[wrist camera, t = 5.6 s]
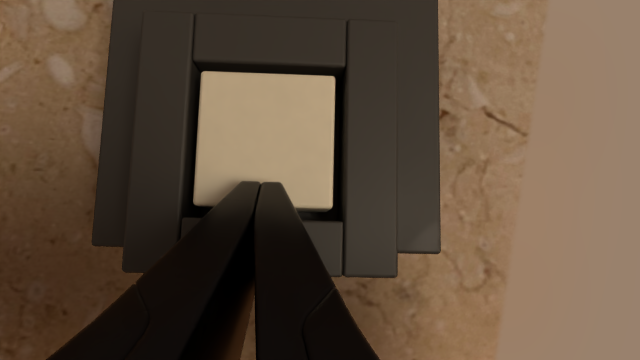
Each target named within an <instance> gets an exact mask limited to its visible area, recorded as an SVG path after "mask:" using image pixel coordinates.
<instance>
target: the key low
mask: <svg viewBox="0 0 640 360" xmlns="http://www.w3.org/2000/svg"><path fill="white" fill-rule="evenodd" d="M334 120H335V78H334V77H333V76H319V75H293V74H267V73H241V72H215V71H203V72H202V73H201V81H200V98H199V114H198V130H197V146H196V163H195V179H194V195H193V203H194V205H197V206H201V207H205V208H209V209H212V208H213V207H214V206H216V205H217V204H218V203H219V202H220V201H221V200H222V199H223V198H224V197H225V196H226V195H227V194H228V193H229V192H230V191H231V190H232V189H233V188H234V187H235V186H236V185H238V184H239V183H240V182H241V181H259V182H260V183H261V184H262V183H263V182H281V183H282V184H283V186H284V188H285V190H286V192H287V194H288V196H289V198H290V200H291V202H292V203H293V205H294V207H295V209H296V211H297V212H327V211H328V210H330V209H331V208H332V206H333V168H334Z"/></svg>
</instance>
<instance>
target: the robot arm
mask: <svg viewBox="0 0 640 360" xmlns="http://www.w3.org/2000/svg"><path fill="white" fill-rule="evenodd" d="M254 295H255V332H256V360H380V359H379V357H378V356H377V355H376V353H375V352H374V350H373V349H372V347H371V346H370V344H369V343H368V341H367V340H366V338H365V337H364V335H363V334H362V332H361V331H360V329H359V328H358V326H357V324H356V323H355V321H354V319H353V317H352V316H351V314H350V312H349V310H348V309H347V307H346V305H345V303H344V301H343V299H342V298H341V296H340V294H339V292H338V290H337V289H336V288H335V285H334V283H333V281H332V279H331V277H330V275H329V273H328V271H327V269H326V267H325V265H324V263H323V261H322V259H321V257H320V256H319V254H318V252H317V250H316V248H315V246H314V244H313V242H312V240H311V238H310V236H309V234H308V232H307V230H306V229H305V227H304V225H303V223H302V221H301V219H300V217H299V215H298V213H297V211H296V209H295V207H294V205H293V203H292V202H291V200H290V198H289V196H288V194H287V192H286V190H285V188H284V186H283V184H282V183H281V182H263V183H262V184H261V183H260V182H259V181H241V182H240V183H239V184H238V185H236V186H235V187H234V188H233V189H232V190H231V191H230V192H229V193H228V194H227V195H226V196H225V197H224V198H223V199H222V200H221V201H220V202H219V203H218V204H217V205H216V206H214V207H213V208H212V209H211V210H210V211H209V212H208V213H207V214H206V215H205V216H204V217H203V218H202V219H201V220H200V221H199V222H198V223H197V224H196V225H195V226H194V227H193V228H191V229H190V230H189V231H188V232H187V233H186V234H185V235H184V236H183V237H182V238H181V239H180V240H179V241H178V242H177V243H176V244H175V245H174V246H173V247H172V248H171V249H169V250H168V251H167V252H166V253H165V254H164V255H163V256H162V257H161V258H160V259H159V260H158V261H157V262H156V263H155V264H154V265H153V266H152V267H151V268H150V269H149V270H148V271H146V272H145V273H144V274H143V275H142V276H141V277H140V278H139V279H138V280H137V281H136V285H135V284H133V285H132V286H131V287H129V288H128V289H127V290H126V291H125V292H124V293H123V294H122V295H121V296H120V297H119V298H118V299H117V300H116V301H115V302H114V303H112V304H111V305H110V306H109V307H108V308H107V309H106V310H105V311H104V312H103V313H101V314H100V315H99V316H98V317H97V318H96V319H95V320H94V321H93V322H91V323H90V324H89V325H88V326H87V327H85V328H84V329H83V330H82V331H80V332H79V333H78V334H77V335H76V336H74V337H73V338H72V339H71V340H70V341H68V342H67V343H66V344H65V345H64V346H62V347H61V348H60V349H59V350H57V351H56V352H55V353H54V354H52V355H51V356H50V357H49V358H47V359H46V360H240V358H241V353H242V349H243V344H244V340H245V335H246V331H247V327H248V322H249V318H250V313H251V309H252V304H253V300H254Z"/></svg>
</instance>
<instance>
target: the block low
mask: <svg viewBox="0 0 640 360" xmlns="http://www.w3.org/2000/svg"><path fill="white" fill-rule="evenodd" d="M203 71H215V72H241V73H267V74H293V75H319V76H333V77H334V78H335V120H334V168H333V206H332V208H331V209H330V210H328V211H327V212H297V213H298V215H299V217H300V219H301V221H302V223H303V225H304V227H305V229H306V230H307V232H308V234H309V236H310V238H311V240H312V242H313V244H314V246H315V248H316V250H317V252H318V254H319V256H320V257H321V259H322V261H323V263H324V265H325V267H326V269H327V271H328V273H329V275H330V277H341V276H342V275H343V276H345V277H363V278H395V277H397V263H398V253H409V254H439V253H440V251H441V241H440V147H439V54H438V0H113V11H112V23H111V34H110V45H109V56H108V67H107V78H106V89H105V100H104V111H103V122H102V133H101V145H100V156H99V167H98V178H97V189H96V200H95V211H94V222H93V233H92V245H93V246H103V247H124V248H123V260H122V271H124V272H126V273H145V272H146V271H148V270H149V269H150V268H151V267H152V266H153V265H154V264H155V263H156V262H157V261H158V260H159V259H160V258H161V257H162V256H163V255H164V254H165V253H166V252H167V251H168V250H169V249H171V248H172V247H173V246H174V245H175V244H176V243H177V242H178V241H179V240H180V239H181V238H182V237H183V236H184V235H185V234H186V233H187V232H188V231H189V230H190V229H191V228H193V227H194V226H195V225H196V224H197V223H198V222H199V221H200V220H201V219H202V218H203V217H204V216H205V215H206V214H207V213H208V212H209V211H210V210H211V209H209V208H205V207H201V206H197V205H194V203H193V195H194V179H195V163H196V146H197V130H198V114H199V98H200V81H201V73H202V72H203Z"/></svg>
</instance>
